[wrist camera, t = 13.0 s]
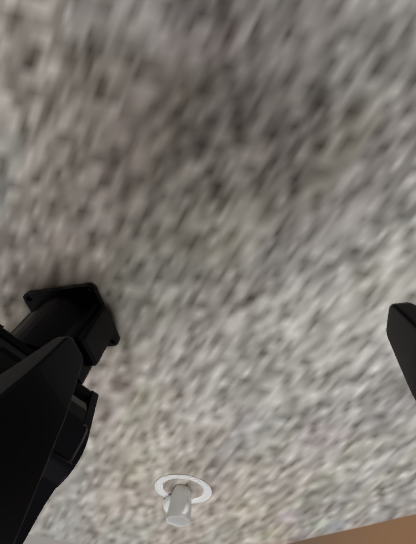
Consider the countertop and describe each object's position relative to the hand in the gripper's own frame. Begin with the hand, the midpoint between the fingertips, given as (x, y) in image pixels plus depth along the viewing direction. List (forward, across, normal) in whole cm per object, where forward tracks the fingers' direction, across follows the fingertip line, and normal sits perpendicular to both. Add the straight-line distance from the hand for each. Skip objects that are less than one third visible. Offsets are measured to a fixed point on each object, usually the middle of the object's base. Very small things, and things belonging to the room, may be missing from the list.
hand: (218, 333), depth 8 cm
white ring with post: (+14, +16, +39) cm, 44 cm away
